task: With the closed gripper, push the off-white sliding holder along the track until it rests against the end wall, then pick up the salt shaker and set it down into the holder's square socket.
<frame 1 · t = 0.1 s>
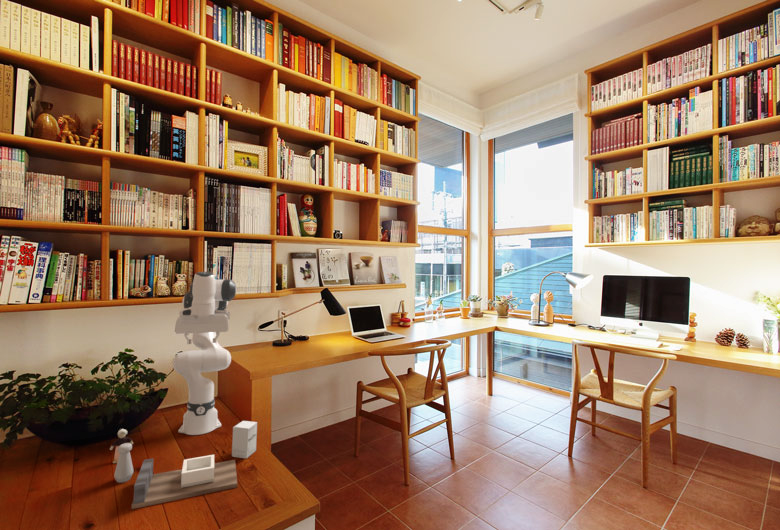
hand: (202, 343, 154), 48 cm above the table, tool pointing down, fingers open, 8 cm apart
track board: (188, 483, 134), on the table
grandmother figurine: (121, 460, 149), on the table
supplement box: (244, 454, 157), on the table
salt shaker: (123, 480, 136), on the table
sliding holder: (198, 470, 136), point 4 cm above the table, slide at 10.0 cm
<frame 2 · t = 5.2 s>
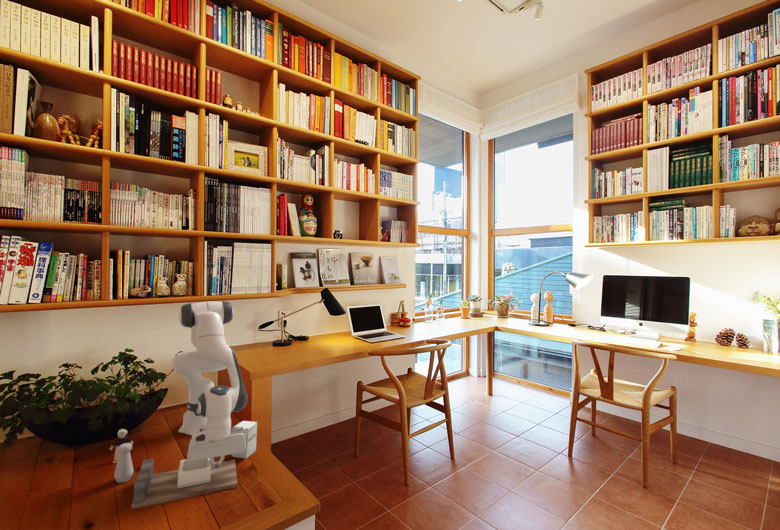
hand: (216, 467, 138), 4 cm above the table, tool pointing down, fingers closed
sliding holder: (195, 470, 135), point 4 cm above the table, slide at 8.9 cm, touching gripper
everything else where it was.
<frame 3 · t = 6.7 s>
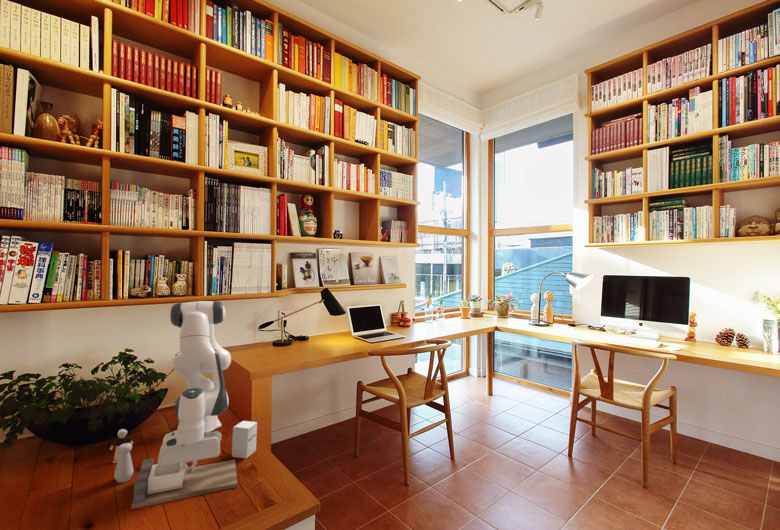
hand: (189, 472, 134), 4 cm above the table, tool pointing down, fingers closed
sliding holder: (167, 476, 131), point 4 cm above the table, slide at -0.1 cm, touching gripper
everything else where it was.
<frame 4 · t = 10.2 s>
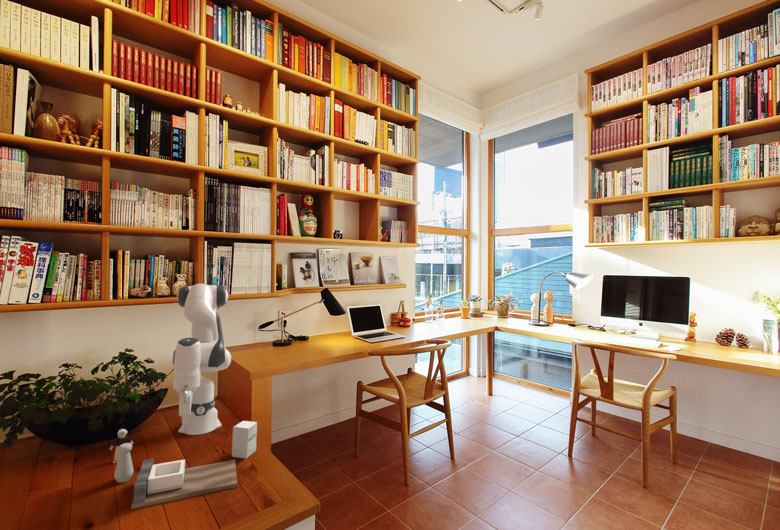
hand: (185, 419, 137), 23 cm above the table, tool pointing down, fingers open, 8 cm apart
sliding holder: (167, 476, 131), point 4 cm above the table, slide at 0.0 cm
everything else where it was.
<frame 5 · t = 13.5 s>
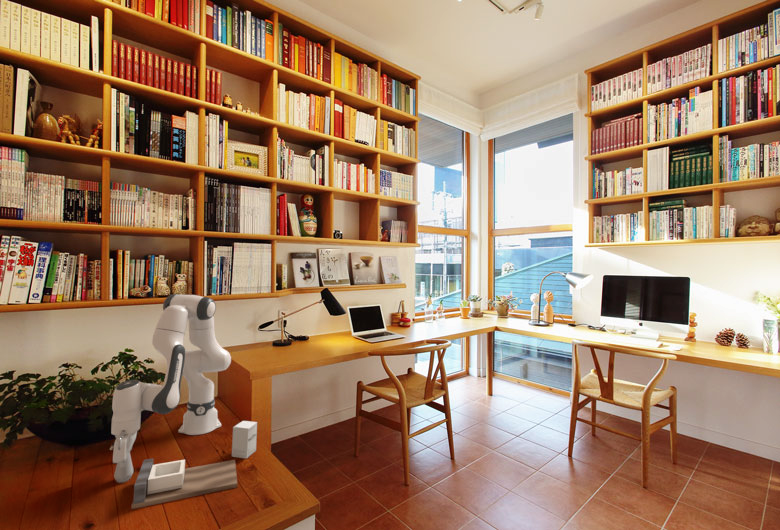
hand: (124, 463, 136), 6 cm above the table, tool pointing down, fingers closed on salt shaker, 4 cm apart
salt shaker: (123, 480, 136), on the table, touching gripper
everything else where it was.
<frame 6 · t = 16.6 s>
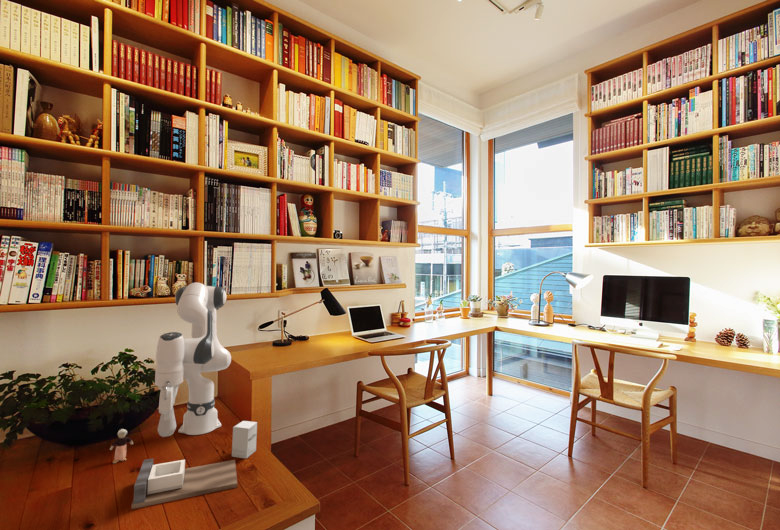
hand: (167, 416, 132), 25 cm above the table, tool pointing down, fingers closed on salt shaker, 4 cm apart
salt shaker: (166, 434, 132), point 19 cm above the table, touching gripper
everything else where it was.
when the fingers open (10 cm above the table, at t = 19.9 s): salt shaker drops 1 cm, resting on sliding holder.
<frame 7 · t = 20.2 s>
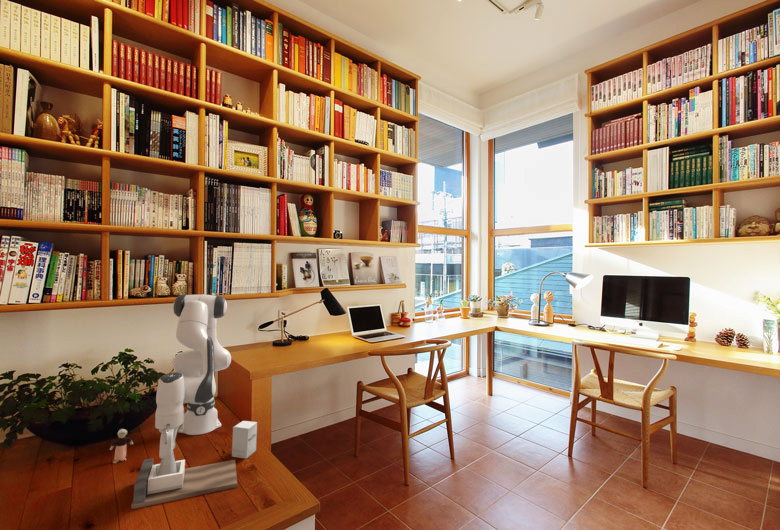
hand: (168, 458, 132), 11 cm above the table, tool pointing down, fingers open, 7 cm apart
salt shaker: (167, 480, 131), point 3 cm above the table, touching sliding holder
sliding holder: (167, 476, 131), point 4 cm above the table, slide at 0.0 cm, touching salt shaker
everything else where it was.
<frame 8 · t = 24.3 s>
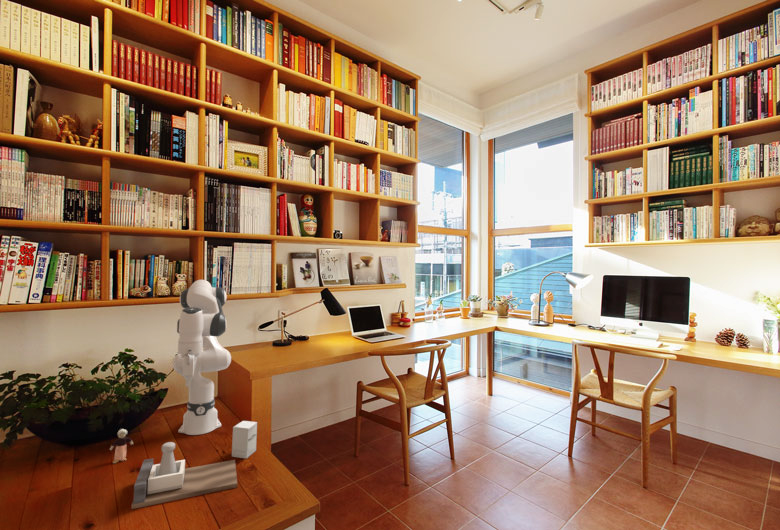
hand: (189, 382, 148), 33 cm above the table, tool pointing down, fingers open, 8 cm apart
nothing on the table moved.
at the end: sliding holder slide at 0.0 cm; salt shaker 0.2 cm off-centre on the sliding holder, point 2.6 cm above the sliding holder's base; salt shaker tilted 0° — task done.
